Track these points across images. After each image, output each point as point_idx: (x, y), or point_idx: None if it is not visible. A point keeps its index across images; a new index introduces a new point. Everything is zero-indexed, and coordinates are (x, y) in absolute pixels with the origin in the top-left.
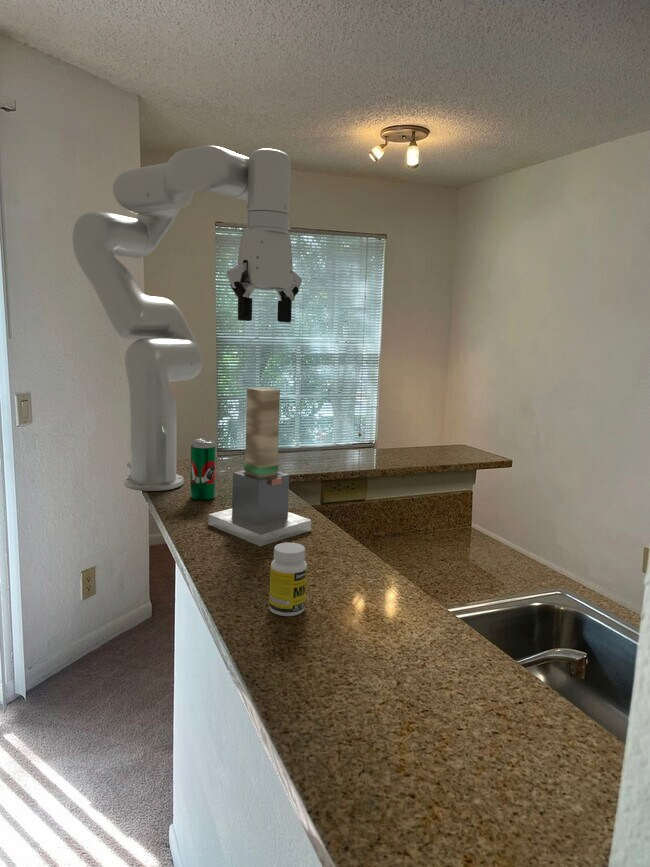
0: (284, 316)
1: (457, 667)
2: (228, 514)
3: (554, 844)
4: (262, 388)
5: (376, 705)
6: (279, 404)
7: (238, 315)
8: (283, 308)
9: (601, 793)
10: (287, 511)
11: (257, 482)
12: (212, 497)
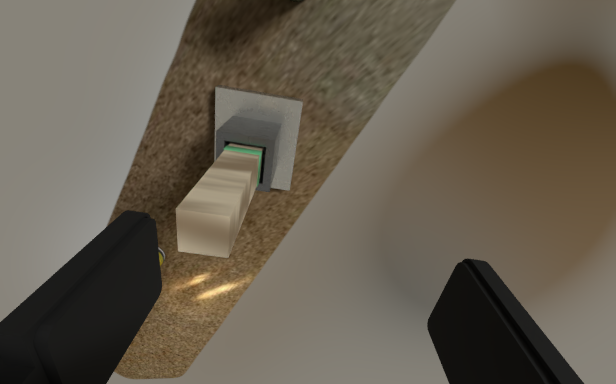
0: (448, 329)
1: (181, 334)
2: (233, 107)
3: (121, 372)
4: (207, 228)
5: None
6: (235, 238)
7: (113, 228)
8: (476, 373)
9: (153, 377)
10: (275, 171)
11: None
12: (298, 1)
